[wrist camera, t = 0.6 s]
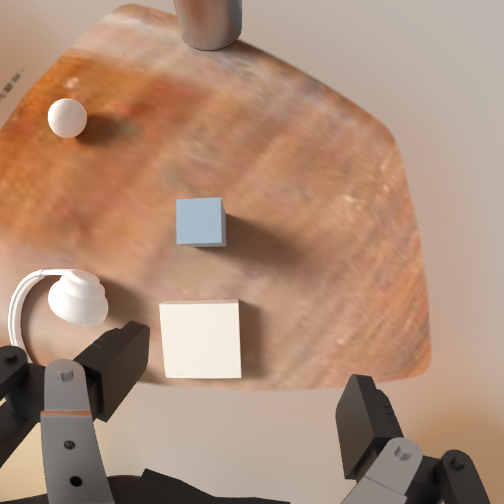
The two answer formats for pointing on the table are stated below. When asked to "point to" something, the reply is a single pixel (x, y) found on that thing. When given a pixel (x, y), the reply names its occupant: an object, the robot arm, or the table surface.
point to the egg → (67, 118)
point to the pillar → (201, 222)
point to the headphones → (62, 300)
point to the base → (201, 338)
